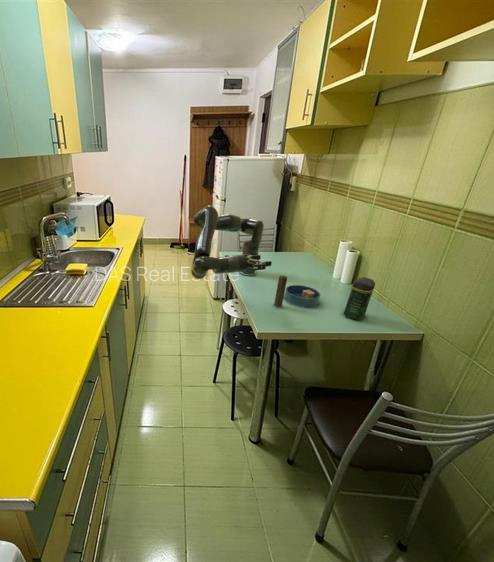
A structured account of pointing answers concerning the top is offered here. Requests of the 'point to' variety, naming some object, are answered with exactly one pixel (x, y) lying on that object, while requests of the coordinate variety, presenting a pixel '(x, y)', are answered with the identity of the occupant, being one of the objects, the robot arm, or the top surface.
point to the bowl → (295, 296)
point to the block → (308, 294)
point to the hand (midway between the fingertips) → (265, 260)
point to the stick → (280, 291)
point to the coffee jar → (359, 298)
